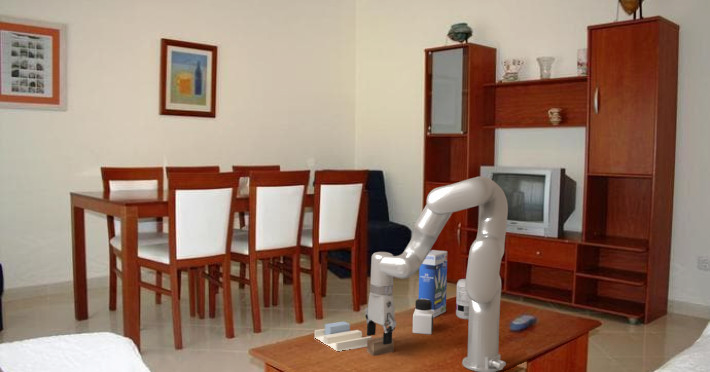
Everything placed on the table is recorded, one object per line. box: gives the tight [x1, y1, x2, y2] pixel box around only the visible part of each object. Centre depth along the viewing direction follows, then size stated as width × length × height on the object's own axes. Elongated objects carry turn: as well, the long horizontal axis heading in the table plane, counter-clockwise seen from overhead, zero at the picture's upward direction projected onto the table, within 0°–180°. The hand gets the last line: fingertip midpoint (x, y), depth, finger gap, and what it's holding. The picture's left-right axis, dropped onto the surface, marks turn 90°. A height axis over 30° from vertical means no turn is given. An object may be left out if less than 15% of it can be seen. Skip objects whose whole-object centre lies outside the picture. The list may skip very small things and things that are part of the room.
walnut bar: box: [366, 336, 395, 357], centre depth 199 cm, size 4×8×4 cm, turn 122°
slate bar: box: [324, 321, 351, 335], centre depth 213 cm, size 4×8×4 cm, turn 122°
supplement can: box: [455, 278, 470, 320], centre depth 244 cm, size 8×8×15 cm
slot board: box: [314, 328, 373, 352], centre depth 209 cm, size 16×14×3 cm
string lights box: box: [418, 249, 448, 319], centre depth 248 cm, size 13×8×26 cm, turn 149°
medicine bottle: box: [412, 298, 434, 335], centre depth 223 cm, size 7×7×12 cm
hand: (379, 339), depth 199 cm, fingers open, 9 cm apart
